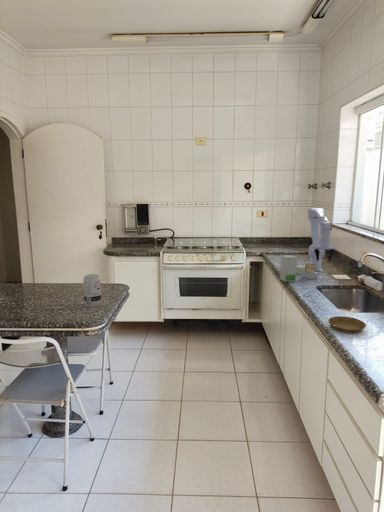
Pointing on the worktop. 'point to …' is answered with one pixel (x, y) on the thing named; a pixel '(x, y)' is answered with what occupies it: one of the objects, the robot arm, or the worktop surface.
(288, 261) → the skincare box
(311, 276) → the blue-grey base block
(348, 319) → the plant saucer
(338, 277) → the card
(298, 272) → the sage block
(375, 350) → the worktop surface
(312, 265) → the maple block
